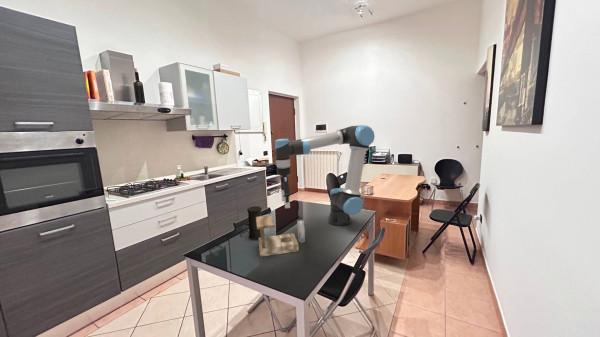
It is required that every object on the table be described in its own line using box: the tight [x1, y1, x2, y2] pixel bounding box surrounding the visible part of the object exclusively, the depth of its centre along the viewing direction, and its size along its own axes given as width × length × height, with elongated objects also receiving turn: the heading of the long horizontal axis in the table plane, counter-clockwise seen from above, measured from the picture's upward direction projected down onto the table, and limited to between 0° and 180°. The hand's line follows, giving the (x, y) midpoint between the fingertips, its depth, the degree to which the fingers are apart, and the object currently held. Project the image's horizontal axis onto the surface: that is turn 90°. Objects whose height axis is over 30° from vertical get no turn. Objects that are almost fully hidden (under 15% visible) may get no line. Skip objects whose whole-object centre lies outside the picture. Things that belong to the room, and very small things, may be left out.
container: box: [247, 205, 263, 241], centre depth 147 cm, size 9×9×18 cm
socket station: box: [256, 215, 300, 258], centre depth 132 cm, size 20×15×16 cm
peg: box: [296, 219, 306, 244], centre depth 139 cm, size 4×4×12 cm
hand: (285, 204), depth 138 cm, fingers open, 13 cm apart
